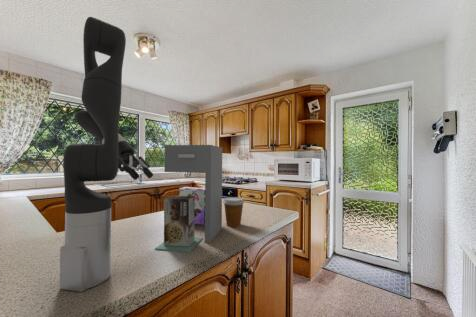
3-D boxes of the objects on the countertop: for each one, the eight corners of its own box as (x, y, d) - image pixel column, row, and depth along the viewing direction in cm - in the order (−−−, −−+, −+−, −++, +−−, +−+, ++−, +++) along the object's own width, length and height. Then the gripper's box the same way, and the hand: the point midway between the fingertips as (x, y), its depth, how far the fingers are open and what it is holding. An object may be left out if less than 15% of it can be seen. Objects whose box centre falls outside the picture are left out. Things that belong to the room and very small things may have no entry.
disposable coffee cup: (219, 227, 93) (220, 199, 93) (227, 221, 102) (227, 196, 102) (240, 229, 90) (240, 201, 90) (246, 223, 99) (246, 197, 99)
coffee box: (195, 240, 77) (195, 195, 77) (188, 247, 70) (189, 198, 70) (171, 238, 78) (171, 194, 78) (162, 245, 71) (163, 198, 71)
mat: (189, 252, 67) (189, 251, 67) (154, 249, 69) (154, 248, 69) (202, 238, 79) (202, 237, 79) (172, 236, 81) (172, 235, 81)
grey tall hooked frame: (209, 243, 74) (210, 144, 74) (162, 240, 77) (163, 144, 78) (221, 228, 91) (222, 147, 91) (182, 225, 94) (183, 147, 94)
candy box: (177, 222, 99) (178, 187, 99) (184, 219, 104) (185, 186, 104) (204, 225, 95) (205, 189, 95) (210, 222, 100) (210, 187, 100)
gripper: (109, 137, 73) (139, 171, 71) (136, 142, 87) (161, 169, 85) (96, 153, 74) (124, 186, 72) (125, 155, 88) (149, 182, 86)
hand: (144, 177), depth 78 cm, fingers open, 8 cm apart
